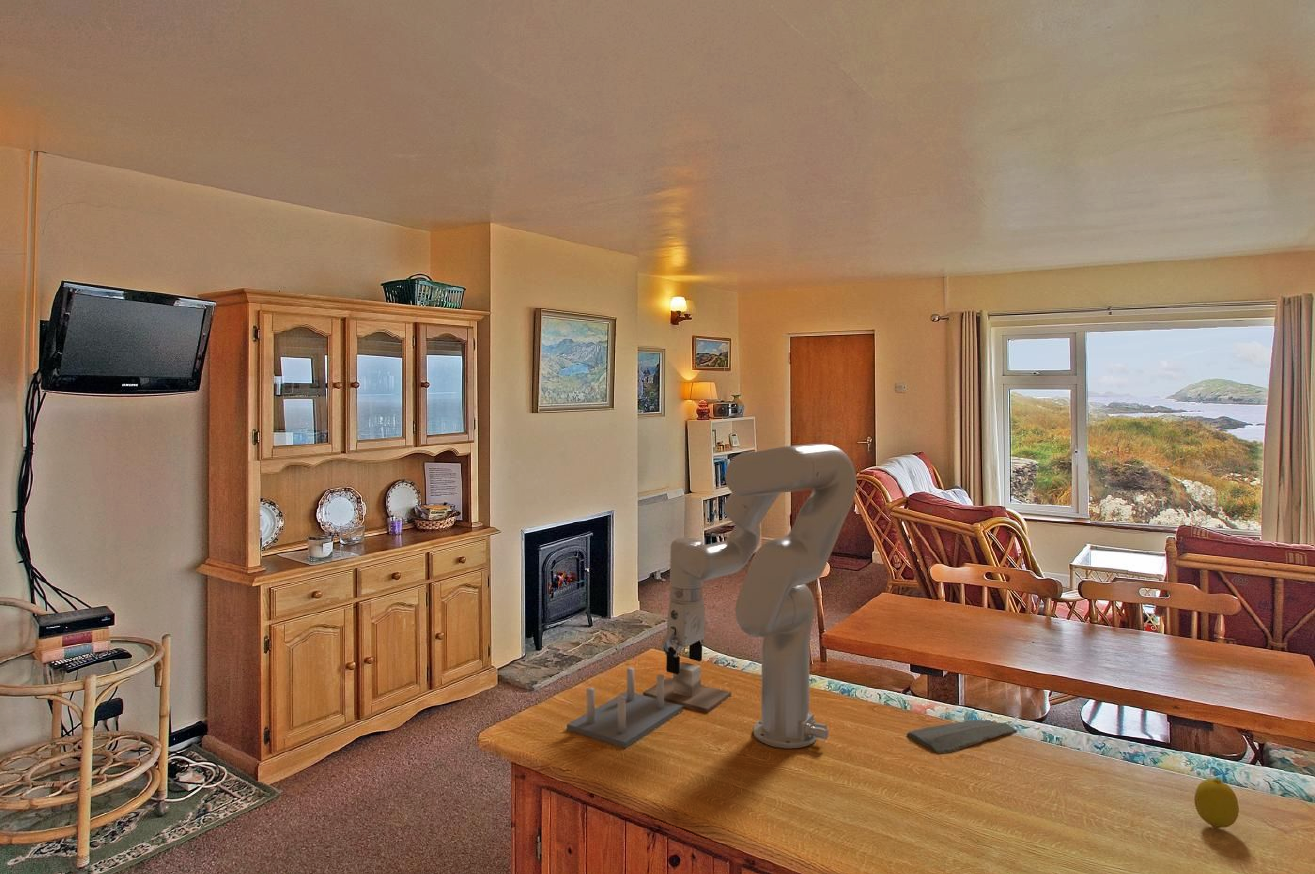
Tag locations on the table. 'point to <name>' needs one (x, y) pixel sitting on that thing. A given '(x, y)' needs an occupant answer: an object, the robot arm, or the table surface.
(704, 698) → the shelf board
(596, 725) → the peg stand
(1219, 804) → the lemon
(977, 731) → the stone slab
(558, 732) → the table surface
